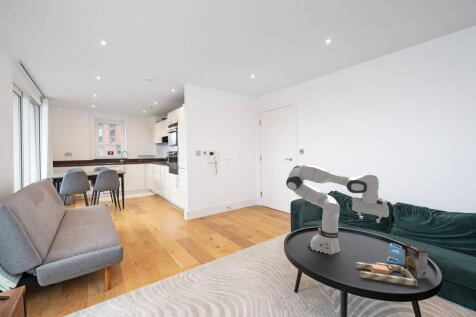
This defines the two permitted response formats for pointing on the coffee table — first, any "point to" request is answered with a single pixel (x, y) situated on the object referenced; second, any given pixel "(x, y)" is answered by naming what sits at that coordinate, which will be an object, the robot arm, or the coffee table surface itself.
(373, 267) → the terracotta block
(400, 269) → the birch trap lane
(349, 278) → the coffee table surface
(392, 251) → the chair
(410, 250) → the coffee box
